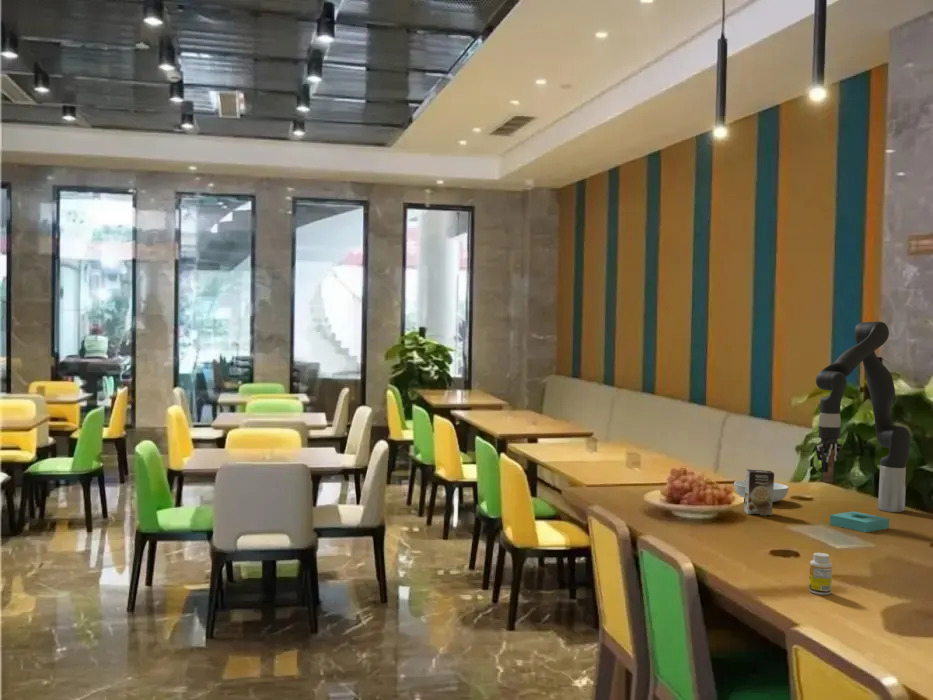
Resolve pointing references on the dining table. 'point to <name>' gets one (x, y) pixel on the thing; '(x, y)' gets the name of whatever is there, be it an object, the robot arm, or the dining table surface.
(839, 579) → the dining table surface
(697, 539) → the dining table surface
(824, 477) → the peg
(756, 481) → the coffee box
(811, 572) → the supplement bottle
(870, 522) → the hole block
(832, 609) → the dining table surface
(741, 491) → the serving bowl
